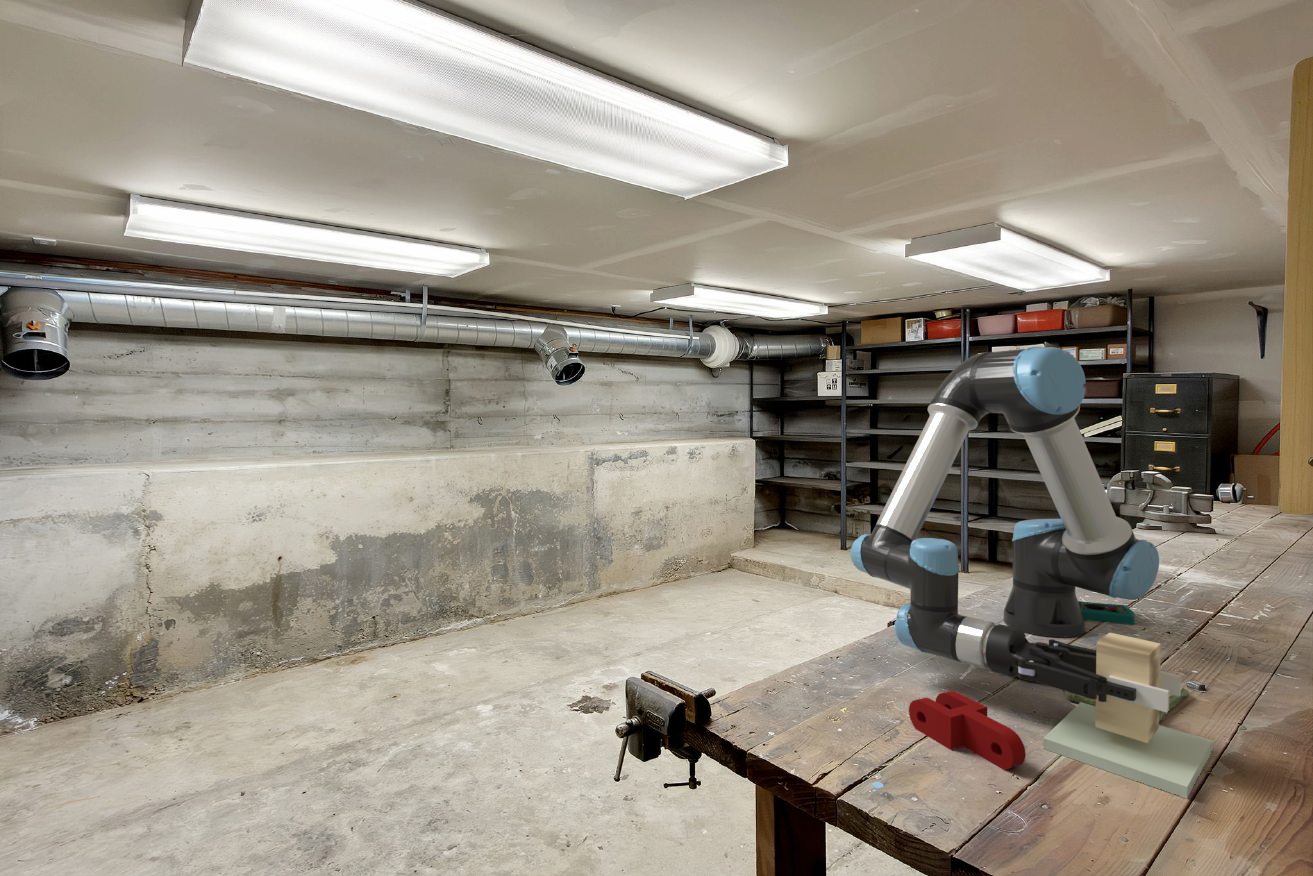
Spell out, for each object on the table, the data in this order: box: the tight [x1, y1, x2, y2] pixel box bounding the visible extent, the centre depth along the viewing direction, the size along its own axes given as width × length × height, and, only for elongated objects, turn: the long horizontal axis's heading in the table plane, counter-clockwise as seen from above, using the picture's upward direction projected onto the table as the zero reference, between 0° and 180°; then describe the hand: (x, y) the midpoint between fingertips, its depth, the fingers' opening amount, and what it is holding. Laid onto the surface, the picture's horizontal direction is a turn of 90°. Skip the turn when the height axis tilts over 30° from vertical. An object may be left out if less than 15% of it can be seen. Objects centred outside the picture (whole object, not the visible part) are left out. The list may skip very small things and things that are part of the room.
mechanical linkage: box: [908, 690, 1027, 771], centre depth 93 cm, size 16×7×5 cm, turn 23°
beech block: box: [1095, 632, 1162, 743], centre depth 91 cm, size 6×6×12 cm
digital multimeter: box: [1078, 600, 1136, 626], centre depth 146 cm, size 7×15×3 cm, turn 65°
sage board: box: [1042, 702, 1214, 800], centre depth 91 cm, size 16×16×2 cm
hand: (1173, 693), depth 87 cm, fingers closed on beech block, 6 cm apart
